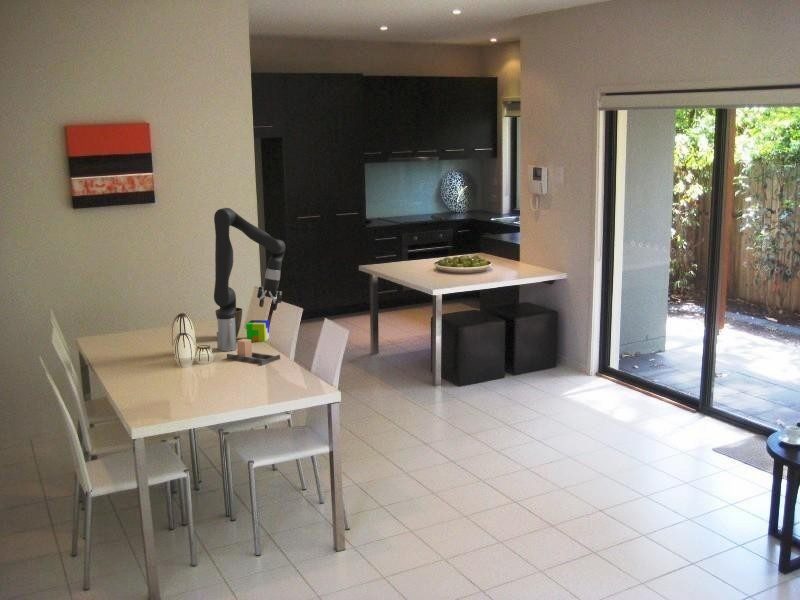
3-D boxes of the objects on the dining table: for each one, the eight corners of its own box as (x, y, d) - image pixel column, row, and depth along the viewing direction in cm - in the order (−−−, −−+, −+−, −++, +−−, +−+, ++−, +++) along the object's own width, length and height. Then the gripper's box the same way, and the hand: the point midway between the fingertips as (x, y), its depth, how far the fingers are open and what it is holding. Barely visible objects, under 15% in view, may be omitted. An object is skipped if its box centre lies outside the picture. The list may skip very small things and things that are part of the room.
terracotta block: (237, 358, 423) (237, 340, 421) (244, 355, 427) (243, 338, 425) (245, 359, 420) (244, 341, 419) (252, 357, 424) (251, 339, 423)
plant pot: (213, 340, 468) (211, 312, 465) (222, 334, 482) (220, 307, 479) (238, 341, 466) (237, 312, 463) (247, 334, 480) (245, 307, 477)
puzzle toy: (269, 337, 473) (268, 320, 471) (264, 341, 463) (264, 324, 462) (252, 337, 474) (251, 320, 472) (247, 341, 464) (246, 324, 463)
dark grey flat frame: (223, 362, 422) (223, 355, 421) (242, 355, 434) (241, 349, 433) (262, 368, 409) (262, 361, 409) (280, 361, 421) (280, 355, 421)
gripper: (257, 275, 434) (252, 306, 435) (278, 280, 427) (273, 311, 428) (266, 275, 440) (261, 305, 442) (287, 280, 433) (282, 311, 435)
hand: (267, 308), depth 435 cm, fingers open, 8 cm apart
